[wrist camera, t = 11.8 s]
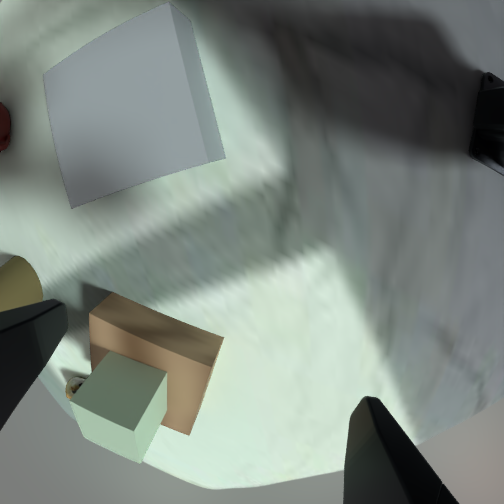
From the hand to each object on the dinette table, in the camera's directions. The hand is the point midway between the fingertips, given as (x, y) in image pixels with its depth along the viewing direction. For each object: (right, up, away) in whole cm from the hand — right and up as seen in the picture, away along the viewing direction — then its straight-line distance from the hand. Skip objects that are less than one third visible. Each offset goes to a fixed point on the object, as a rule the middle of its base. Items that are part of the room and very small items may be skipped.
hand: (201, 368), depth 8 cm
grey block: (-6, +13, +11) cm, 18 cm away
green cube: (-8, -8, +14) cm, 18 cm away
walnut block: (-7, -6, +18) cm, 20 cm away
